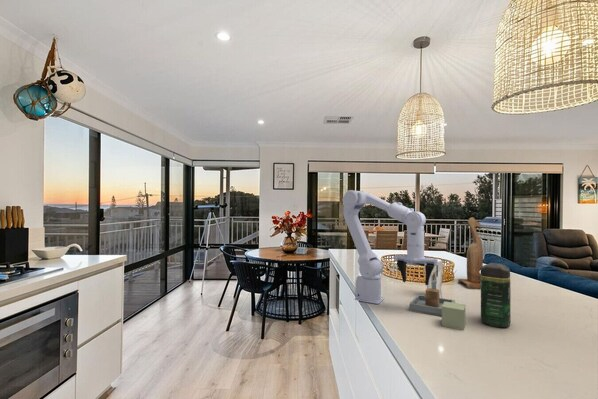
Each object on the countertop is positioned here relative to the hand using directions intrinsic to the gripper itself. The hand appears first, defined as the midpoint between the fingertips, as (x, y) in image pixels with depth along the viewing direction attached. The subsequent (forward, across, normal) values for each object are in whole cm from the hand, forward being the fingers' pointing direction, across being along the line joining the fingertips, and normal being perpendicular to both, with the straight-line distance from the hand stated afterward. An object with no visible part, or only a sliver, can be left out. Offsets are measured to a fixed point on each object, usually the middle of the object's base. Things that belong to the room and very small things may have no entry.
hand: (415, 283), depth 109 cm
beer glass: (+10, +3, +19) cm, 22 cm away
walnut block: (+8, +5, +3) cm, 10 cm away
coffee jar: (+9, +24, 0) cm, 26 cm away
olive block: (+9, +13, -9) cm, 18 cm away
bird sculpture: (+9, +17, +47) cm, 51 cm away
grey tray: (+9, +5, +3) cm, 11 cm away
